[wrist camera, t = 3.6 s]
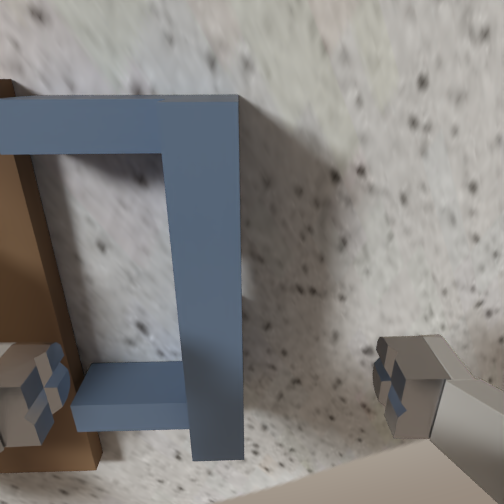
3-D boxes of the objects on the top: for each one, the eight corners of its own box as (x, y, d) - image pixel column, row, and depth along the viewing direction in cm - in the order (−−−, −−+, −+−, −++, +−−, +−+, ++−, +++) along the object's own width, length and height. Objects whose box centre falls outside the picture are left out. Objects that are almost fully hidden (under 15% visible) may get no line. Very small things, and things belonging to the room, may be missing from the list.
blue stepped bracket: (97, 387, 18) (62, 464, 15) (30, 95, 13) (-53, 103, 9) (243, 384, 18) (244, 459, 15) (238, 94, 13) (237, 101, 9)
